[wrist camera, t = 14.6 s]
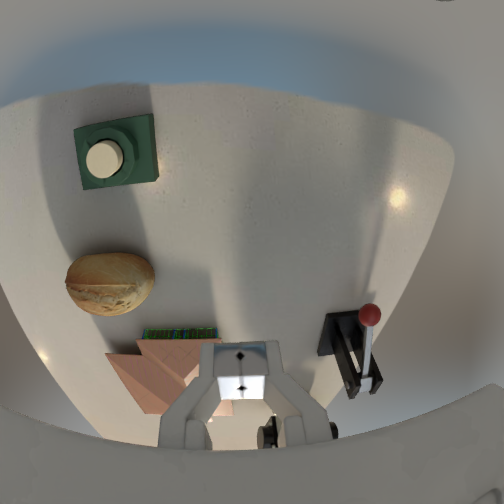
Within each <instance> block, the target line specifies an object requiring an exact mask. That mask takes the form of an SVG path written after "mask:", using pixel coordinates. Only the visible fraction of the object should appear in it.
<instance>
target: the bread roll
mask: <svg viewBox="0 0 504 504" xmlns="http://www.w3.org/2000/svg"><path fill="white" fill-rule="evenodd" d="M154 279H155V273H154V270H153V268H152V267H151V266H150V264H149V263H148V262H147V261H146V260H145V259H143V258H141V257H140V256H137V255H134V254H129V253H120V252H116V253H103V254H95V255H87V256H82V257H80V258H79V259H77V260H76V261H75V262H73V263H72V265H71V266H70V267H69V269H68V272H67V277H66V280H65V283H66V288H67V291H68V293H69V295H70V297H71V298H72V299H73V301H74V302H75V303H76V305H77V306H78V307H80V308H81V309H83V310H84V311H86V312H88V313H91V314H95V315H102V316H115V315H120V314H123V313H126V312H129V311H131V310H133V309H135V308H136V307H137V306H139V305H140V304H141V303H142V302H143V301H144V300H145V299H146V298H147V296H148V295H149V293H150V291H151V289H152V288H153V284H154Z"/></svg>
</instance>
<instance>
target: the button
mask: <svg viewBox="0 0 504 504" xmlns="http://www.w3.org/2000/svg"><path fill="white" fill-rule="evenodd" d="M122 161H123V153H122V150H121V148H120V147H119V145H118V144H117V143H115V142H113V141H110V140H105V141H102V142H100V143H98V144H95V145H94V146H92V147H91V148H90V150H89V152H88V154H87V158H86V163H87V167H88V169H89V171H90V172H91V173H92V174H93V175H94V176H96V177H98V178H107V177H109V176H111V175H112V174H113V173H115V172H116V171H117V170H118V169H119V168H120V166H121V164H122Z"/></svg>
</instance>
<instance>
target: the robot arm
mask: <svg viewBox="0 0 504 504" xmlns="http://www.w3.org/2000/svg"><path fill="white" fill-rule="evenodd" d="M256 398H263V399H264V401H265V402H266V403H267V404H268V406H269V407H270V408H271V409H272V411H273V412H274V413H275V414H276V415H277V417H278V418H279V419H280V420H281V422H282V426H281V430H280V433H279V436H278V440H277V442H278V448H268V449H254V450H212V441H211V439H210V436H209V433H208V431H207V428H206V424H207V422H208V421H209V419H210V418H211V416H212V415H213V413H214V412H215V410H216V409H217V407H218V406H219V404H220V402H221V400H230V399H256ZM0 504H504V389H503V388H502V387H500V386H498V385H496V384H489V385H486V386H485V387H483V388H481V389H479V390H477V391H475V392H473V393H471V394H469V395H467V396H465V397H463V398H461V399H459V400H456V401H454V402H452V403H449V404H447V405H445V406H442V407H440V408H438V409H435V410H433V411H430V412H428V413H425V414H422V415H420V416H417V417H414V418H411V419H408V420H405V421H402V422H399V423H396V424H394V425H390V426H387V427H383V428H380V429H376V430H372V431H369V432H365V433H361V434H357V435H353V436H348V437H343V438H339V439H334V440H333V437H332V432H331V428H330V424H329V420H328V416H327V411H326V410H325V409H324V408H323V407H322V406H321V405H320V404H319V403H318V402H317V401H316V400H315V399H313V398H312V397H311V396H310V395H309V394H308V393H307V392H306V391H305V390H304V389H303V388H302V387H301V386H300V385H299V384H298V383H297V382H296V381H295V380H294V379H293V378H292V377H291V376H290V375H289V374H284V371H283V365H282V359H281V354H280V348H279V342H278V341H277V340H272V341H252V342H239V343H201V346H200V361H199V376H198V377H195V378H194V379H193V380H192V381H191V382H190V383H189V385H188V386H187V387H186V388H185V389H184V391H183V392H182V393H181V394H180V395H179V396H178V398H177V399H176V400H175V401H174V402H173V403H172V405H171V406H170V407H169V408H168V409H167V410H166V411H165V413H164V414H163V415H162V416H161V420H160V429H159V438H158V447H152V446H144V445H137V444H130V443H124V442H119V441H113V440H108V439H103V438H99V437H94V436H90V435H86V434H82V433H78V432H74V431H71V430H67V429H64V428H60V427H57V426H54V425H50V424H48V423H45V422H42V421H39V420H36V419H33V418H31V417H28V416H26V415H23V414H21V413H18V412H15V411H13V410H11V409H9V408H6V407H4V406H2V405H0Z"/></svg>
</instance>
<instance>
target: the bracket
mask: <svg viewBox="0 0 504 504" xmlns="http://www.w3.org/2000/svg"><path fill="white" fill-rule="evenodd" d="M359 311H360V310H356V311H348V312H339V313H330V314H327V315H326V319H325V323H324V327H323V331H322V335H321V339H320V343H319V347H318V351H317V353H318V356H325V355H332V354H334V355H335V358H336V361H337V364H338V367H339V370H340V373H341V376H342V379H343V382H344V385H345V388H346V391H347V394H348V397H349V399H354V398H355V396H356V395H357V393H358V391H359V389H360V388H361V386H362V385H361V382H360V379H359V377H358V374H357V371H356V369H355V366H354V363H353V361H352V358H351V355H350V353H349V352H352V351H354V354H355V356H356V359H357V361H358V364H359V367H360V369H361V362H362V353H363V342H364V330H365V326H364V325H363V324H362V323H361V322H360V320H359V316H358V315H359ZM368 373H369V374H370V375H371V376H372V377H373V378H372V384H371V390H370V391H369V393H370V395H371V394H375V393H376V391H377V390H378V388H379V387H380V385H381V384H382V382H383V378H382V376H381V373H380V371H379V369H378V366H377V364H376V362H375V360H374V357H373V355H372V353H371V356H370V364H369V372H368Z"/></svg>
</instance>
